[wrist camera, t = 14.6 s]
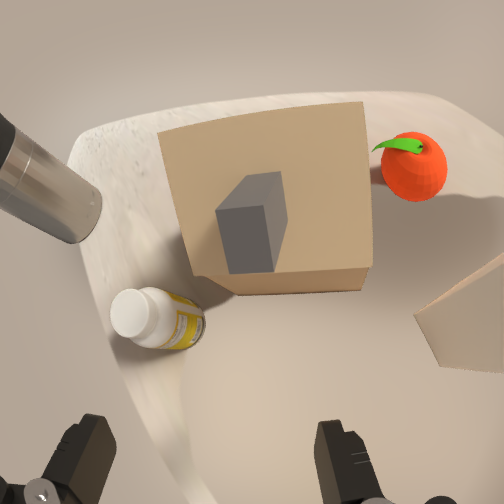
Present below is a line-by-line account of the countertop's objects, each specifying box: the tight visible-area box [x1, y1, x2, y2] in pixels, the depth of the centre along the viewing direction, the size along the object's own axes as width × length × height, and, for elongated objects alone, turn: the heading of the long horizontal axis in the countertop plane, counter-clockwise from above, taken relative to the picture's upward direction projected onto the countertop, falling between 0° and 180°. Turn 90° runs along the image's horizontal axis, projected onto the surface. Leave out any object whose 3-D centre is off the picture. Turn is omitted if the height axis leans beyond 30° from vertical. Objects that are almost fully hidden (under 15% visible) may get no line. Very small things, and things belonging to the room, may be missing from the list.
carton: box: [205, 267, 369, 296], centre depth 27 cm, size 12×10×10 cm
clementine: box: [372, 132, 448, 202], centre depth 27 cm, size 8×7×7 cm
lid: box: [157, 102, 373, 276], centre depth 16 cm, size 12×10×7 cm
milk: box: [414, 252, 504, 373], centre depth 15 cm, size 6×6×22 cm
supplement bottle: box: [110, 287, 206, 349], centre depth 28 cm, size 5×5×10 cm
